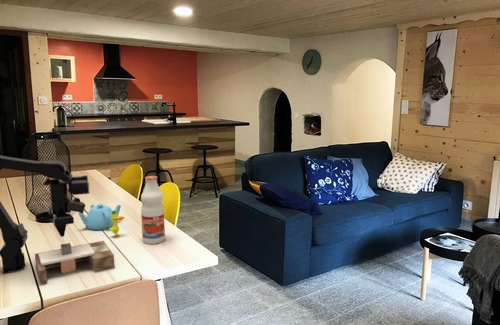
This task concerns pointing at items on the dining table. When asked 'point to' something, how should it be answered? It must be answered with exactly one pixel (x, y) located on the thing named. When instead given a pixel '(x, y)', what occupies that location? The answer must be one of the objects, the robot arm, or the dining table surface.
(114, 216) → the toy figure
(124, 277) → the dining table surface
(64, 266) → the block
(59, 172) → the robot arm
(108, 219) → the teapot
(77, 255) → the cover
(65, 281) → the dining table surface
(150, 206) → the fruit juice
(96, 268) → the brown shallow open box
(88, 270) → the dining table surface
